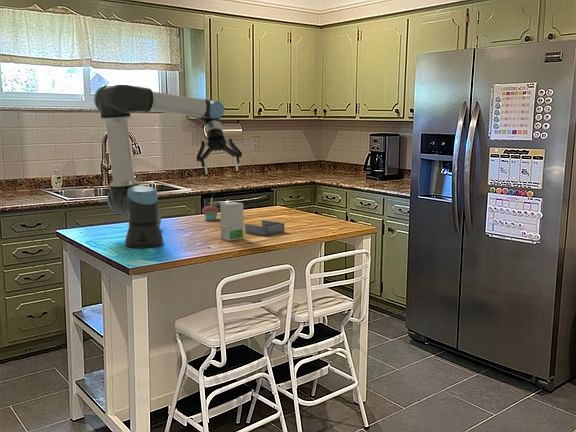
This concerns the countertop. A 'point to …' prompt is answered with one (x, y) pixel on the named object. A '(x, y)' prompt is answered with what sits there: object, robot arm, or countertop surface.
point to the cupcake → (210, 212)
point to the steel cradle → (265, 228)
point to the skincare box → (231, 221)
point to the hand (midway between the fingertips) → (222, 171)
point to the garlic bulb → (159, 220)
